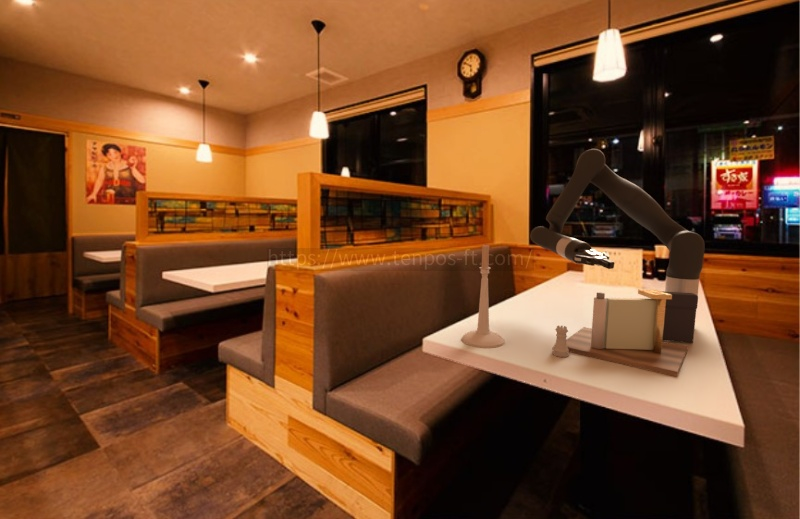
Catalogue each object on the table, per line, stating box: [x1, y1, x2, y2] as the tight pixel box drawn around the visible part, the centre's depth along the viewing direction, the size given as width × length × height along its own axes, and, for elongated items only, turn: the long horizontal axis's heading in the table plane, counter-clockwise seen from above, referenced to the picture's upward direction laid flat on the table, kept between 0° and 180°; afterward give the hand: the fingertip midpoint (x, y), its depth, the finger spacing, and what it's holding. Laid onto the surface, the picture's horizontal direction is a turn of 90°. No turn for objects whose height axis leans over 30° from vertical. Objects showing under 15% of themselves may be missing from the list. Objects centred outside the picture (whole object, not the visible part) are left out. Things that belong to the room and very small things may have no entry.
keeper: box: [637, 288, 672, 354], centre depth 106 cm, size 7×5×18 cm
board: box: [566, 326, 689, 377], centre depth 109 cm, size 24×28×1 cm
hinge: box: [591, 292, 657, 350], centre depth 106 cm, size 18×3×16 cm, turn 85°
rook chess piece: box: [551, 325, 570, 358], centre depth 105 cm, size 4×4×8 cm
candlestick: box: [461, 244, 505, 349], centre depth 115 cm, size 13×13×30 cm
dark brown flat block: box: [662, 290, 699, 344], centre depth 117 cm, size 11×4×15 cm, turn 71°
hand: (612, 265), depth 115 cm, fingers closed
